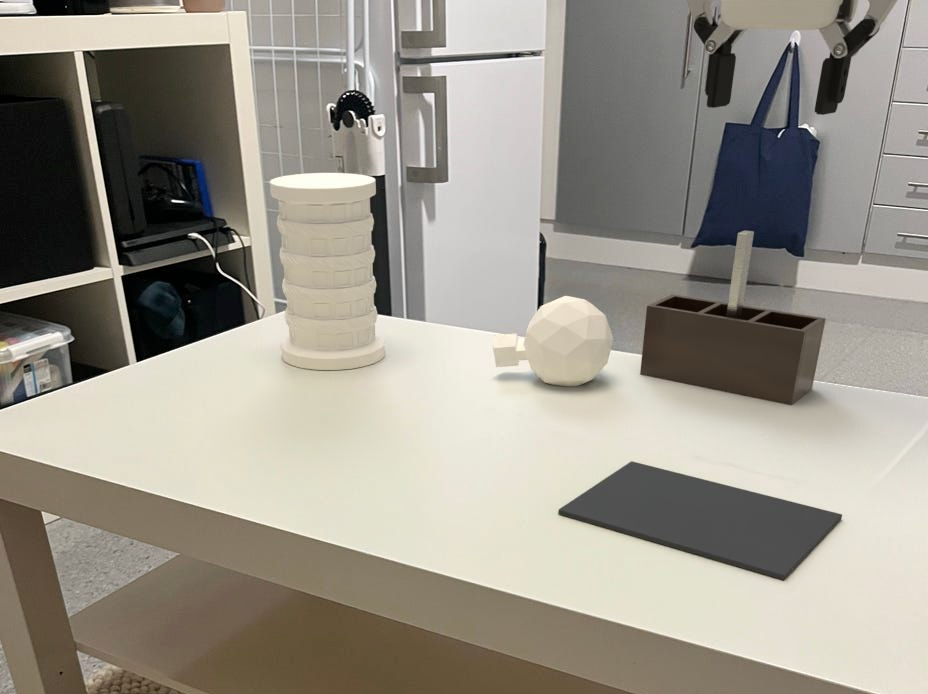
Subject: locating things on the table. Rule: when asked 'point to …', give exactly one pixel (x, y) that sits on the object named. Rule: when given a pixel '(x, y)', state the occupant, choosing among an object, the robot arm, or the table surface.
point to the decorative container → (328, 270)
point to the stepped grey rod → (739, 274)
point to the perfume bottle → (560, 343)
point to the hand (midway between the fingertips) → (770, 109)
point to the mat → (705, 518)
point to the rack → (732, 348)
